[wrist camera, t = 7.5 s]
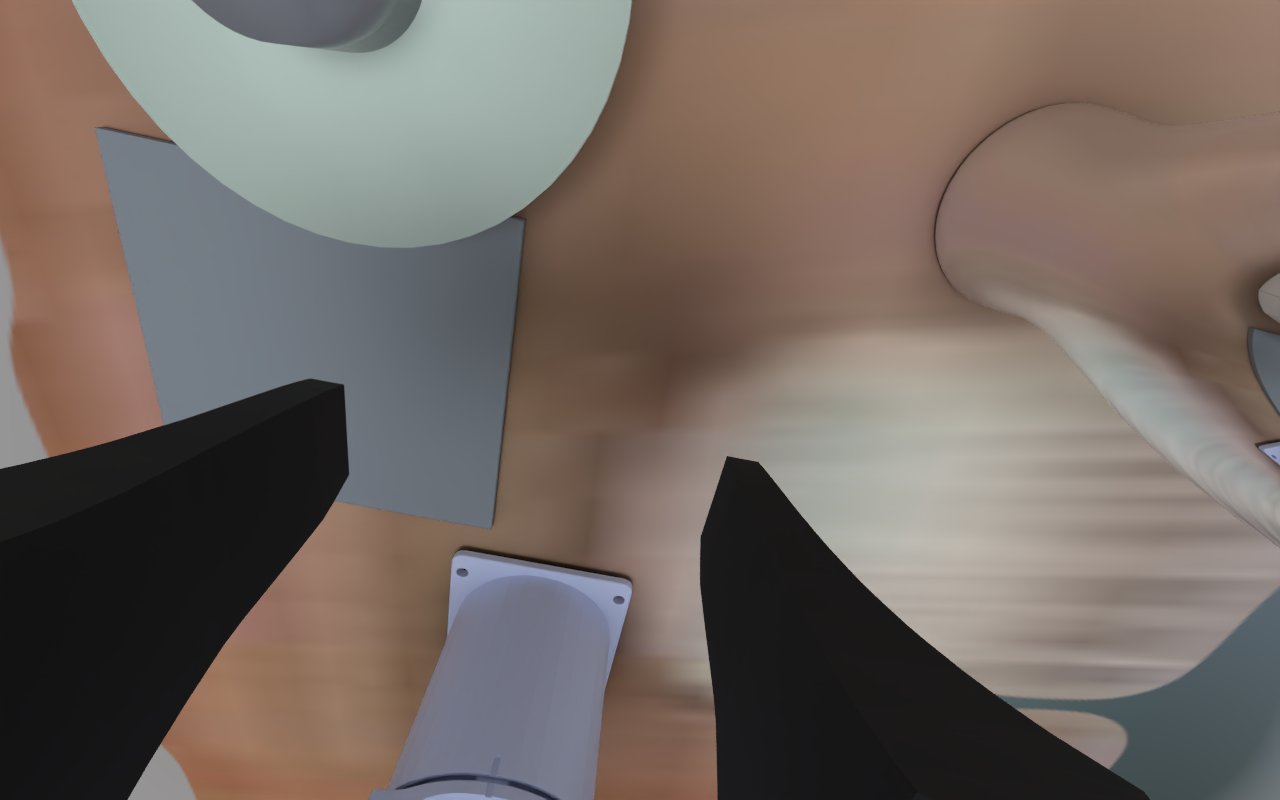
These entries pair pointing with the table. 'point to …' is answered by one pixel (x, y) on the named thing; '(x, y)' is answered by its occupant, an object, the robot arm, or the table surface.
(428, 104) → the lid
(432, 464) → the mat
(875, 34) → the table surface
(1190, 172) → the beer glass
